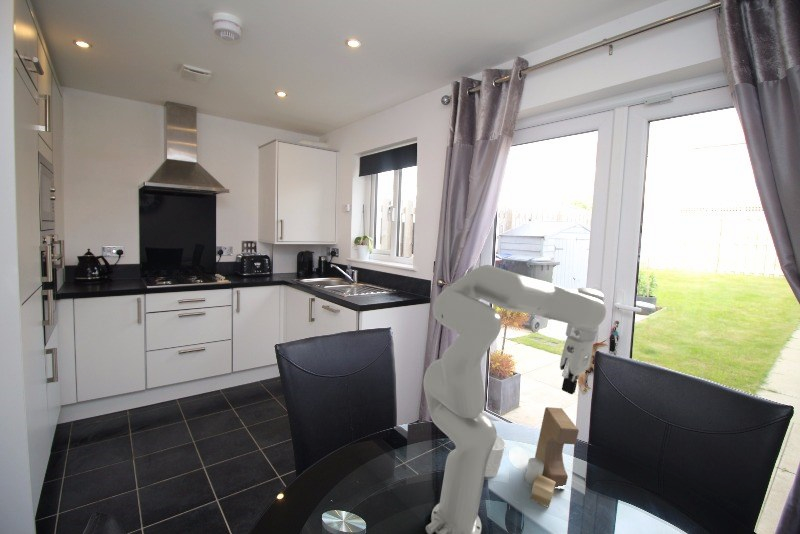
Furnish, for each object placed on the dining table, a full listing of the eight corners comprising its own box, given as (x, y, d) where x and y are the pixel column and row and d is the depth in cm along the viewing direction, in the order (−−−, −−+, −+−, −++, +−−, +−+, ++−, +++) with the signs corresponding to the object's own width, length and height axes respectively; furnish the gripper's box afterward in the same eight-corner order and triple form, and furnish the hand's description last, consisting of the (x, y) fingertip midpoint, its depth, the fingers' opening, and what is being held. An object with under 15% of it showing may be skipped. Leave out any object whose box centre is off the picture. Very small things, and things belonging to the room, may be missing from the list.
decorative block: (565, 490, 114) (579, 430, 110) (546, 489, 114) (560, 428, 110) (550, 463, 125) (563, 407, 121) (533, 462, 125) (545, 406, 120)
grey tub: (535, 488, 114) (539, 470, 112) (522, 479, 117) (525, 461, 116) (543, 481, 117) (546, 464, 115) (529, 472, 120) (533, 455, 119)
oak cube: (548, 508, 107) (552, 492, 106) (530, 498, 110) (533, 483, 109) (552, 496, 111) (555, 481, 110) (534, 488, 114) (537, 473, 113)
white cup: (468, 462, 121) (473, 434, 119) (489, 458, 124) (494, 430, 122) (483, 481, 114) (488, 451, 112) (505, 476, 117) (510, 447, 115)
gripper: (583, 343, 102) (569, 405, 106) (605, 332, 112) (591, 389, 116) (555, 332, 107) (543, 393, 111) (579, 323, 117) (567, 378, 121)
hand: (568, 391), depth 113 cm, fingers closed
